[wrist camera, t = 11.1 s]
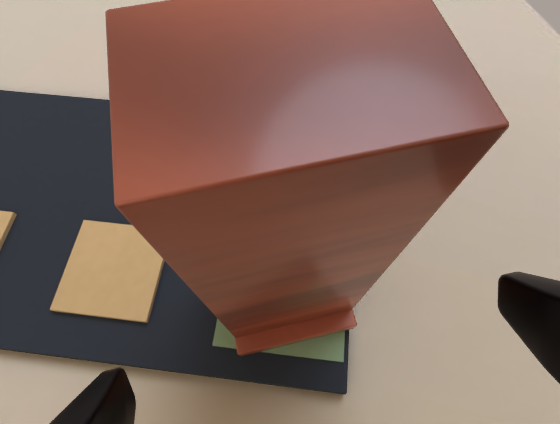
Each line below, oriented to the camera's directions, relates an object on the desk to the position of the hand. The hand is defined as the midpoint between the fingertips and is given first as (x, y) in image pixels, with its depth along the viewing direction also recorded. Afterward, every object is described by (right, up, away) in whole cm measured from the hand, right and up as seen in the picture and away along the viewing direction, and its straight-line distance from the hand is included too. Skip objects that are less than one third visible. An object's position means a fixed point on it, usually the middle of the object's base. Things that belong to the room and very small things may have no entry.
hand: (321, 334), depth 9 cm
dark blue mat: (-9, +3, +11) cm, 14 cm away
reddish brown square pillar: (-1, -1, +8) cm, 8 cm away
